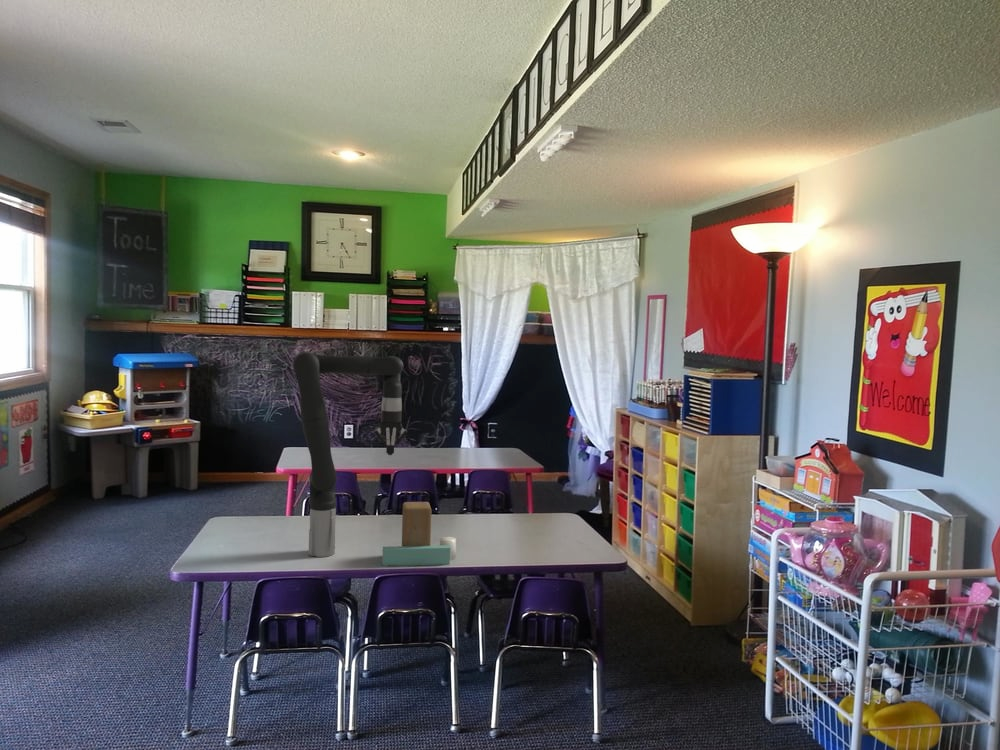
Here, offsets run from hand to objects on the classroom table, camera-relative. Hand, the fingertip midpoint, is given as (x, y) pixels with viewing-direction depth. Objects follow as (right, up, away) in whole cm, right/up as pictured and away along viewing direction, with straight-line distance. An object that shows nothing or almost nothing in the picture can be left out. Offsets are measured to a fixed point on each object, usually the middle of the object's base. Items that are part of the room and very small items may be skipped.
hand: (390, 454), depth 263 cm
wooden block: (+10, -38, -5) cm, 39 cm away
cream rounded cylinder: (+22, -38, -4) cm, 44 cm away
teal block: (+11, -38, -12) cm, 41 cm away
